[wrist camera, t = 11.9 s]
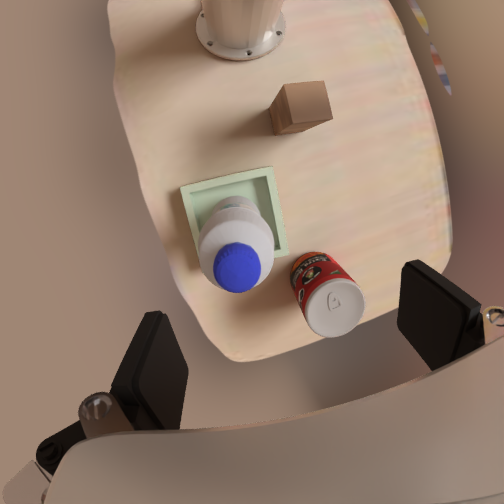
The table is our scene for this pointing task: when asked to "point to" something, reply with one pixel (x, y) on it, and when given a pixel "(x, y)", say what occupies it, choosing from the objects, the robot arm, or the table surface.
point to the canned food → (326, 295)
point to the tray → (238, 184)
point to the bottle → (236, 246)
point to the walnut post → (300, 107)
